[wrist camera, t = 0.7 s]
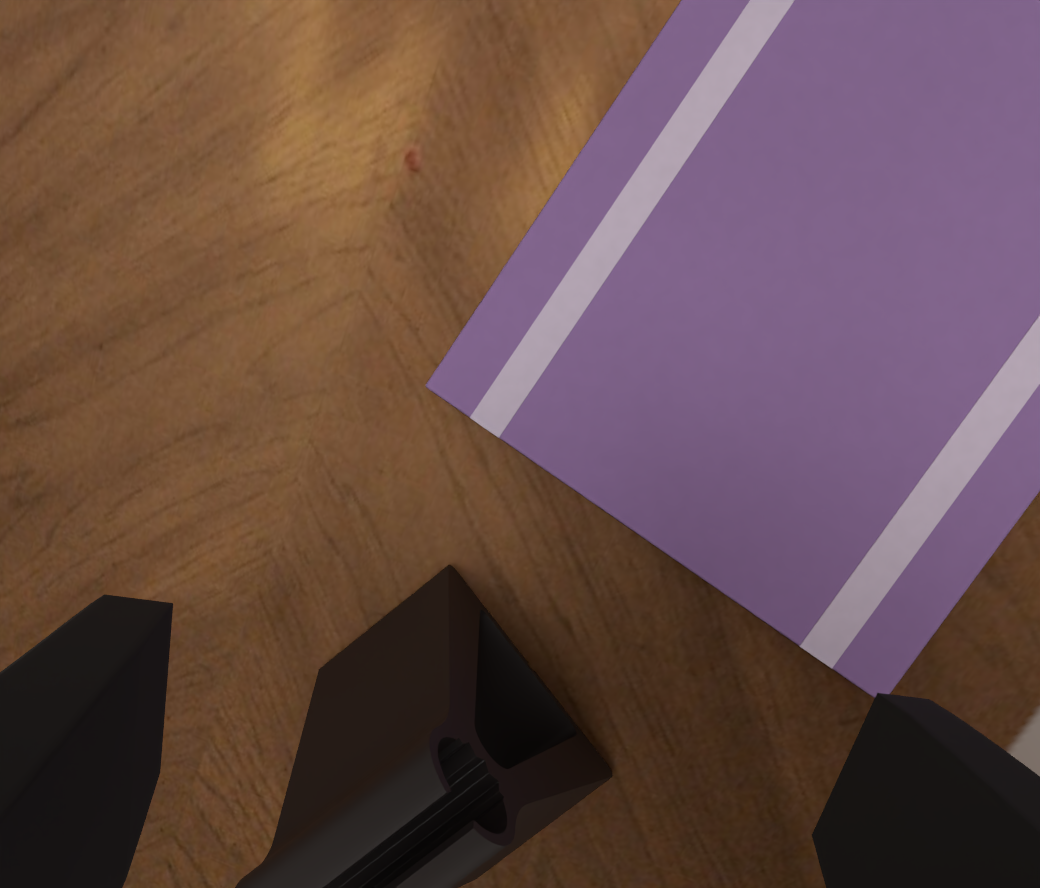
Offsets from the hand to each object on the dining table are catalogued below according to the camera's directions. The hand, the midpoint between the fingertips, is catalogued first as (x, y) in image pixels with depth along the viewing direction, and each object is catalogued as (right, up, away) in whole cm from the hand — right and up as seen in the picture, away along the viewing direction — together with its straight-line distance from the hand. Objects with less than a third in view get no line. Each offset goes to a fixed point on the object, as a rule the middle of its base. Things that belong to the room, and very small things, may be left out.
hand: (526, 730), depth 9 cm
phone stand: (-2, -7, +22) cm, 23 cm away
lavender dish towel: (+12, +11, +20) cm, 26 cm away
